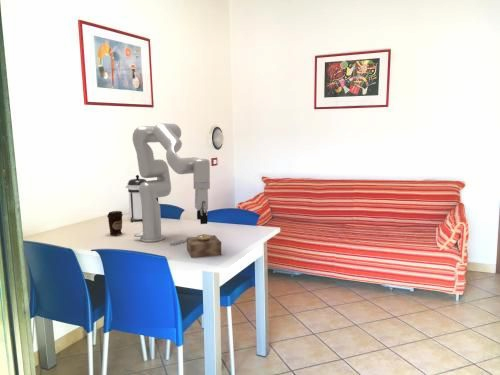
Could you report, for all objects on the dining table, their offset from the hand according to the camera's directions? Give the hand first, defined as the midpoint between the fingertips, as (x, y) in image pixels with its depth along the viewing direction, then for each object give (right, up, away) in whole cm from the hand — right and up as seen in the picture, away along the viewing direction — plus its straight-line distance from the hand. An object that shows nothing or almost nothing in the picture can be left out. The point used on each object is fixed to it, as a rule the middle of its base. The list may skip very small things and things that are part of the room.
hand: (202, 221), depth 192 cm
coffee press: (-49, -6, +79) cm, 93 cm away
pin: (+1, -14, +1) cm, 14 cm away
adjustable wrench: (-9, -13, +24) cm, 28 cm away
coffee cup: (-53, -11, +39) cm, 67 cm away
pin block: (+1, -15, +2) cm, 15 cm away
